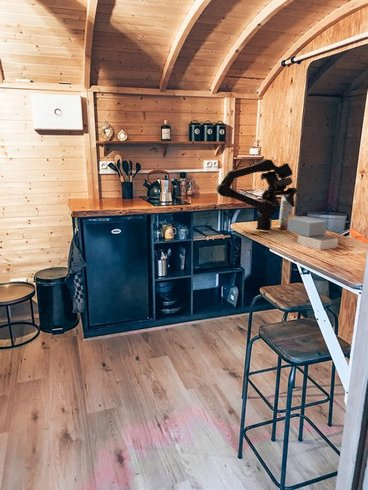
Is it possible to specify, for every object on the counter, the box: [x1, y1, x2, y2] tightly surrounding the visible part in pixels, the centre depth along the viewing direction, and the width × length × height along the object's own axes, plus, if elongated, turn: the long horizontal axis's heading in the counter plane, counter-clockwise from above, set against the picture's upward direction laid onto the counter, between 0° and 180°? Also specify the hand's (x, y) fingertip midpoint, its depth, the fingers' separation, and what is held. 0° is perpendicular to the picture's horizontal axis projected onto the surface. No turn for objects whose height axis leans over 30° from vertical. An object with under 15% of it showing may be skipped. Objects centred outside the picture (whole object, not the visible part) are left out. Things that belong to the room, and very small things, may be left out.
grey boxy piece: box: [286, 214, 328, 237], centre depth 179 cm, size 18×11×6 cm, turn 30°
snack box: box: [278, 195, 293, 230], centre depth 212 cm, size 21×6×15 cm, turn 168°
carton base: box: [296, 234, 339, 251], centre depth 173 cm, size 13×11×4 cm
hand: (286, 207), depth 189 cm, fingers open, 9 cm apart
